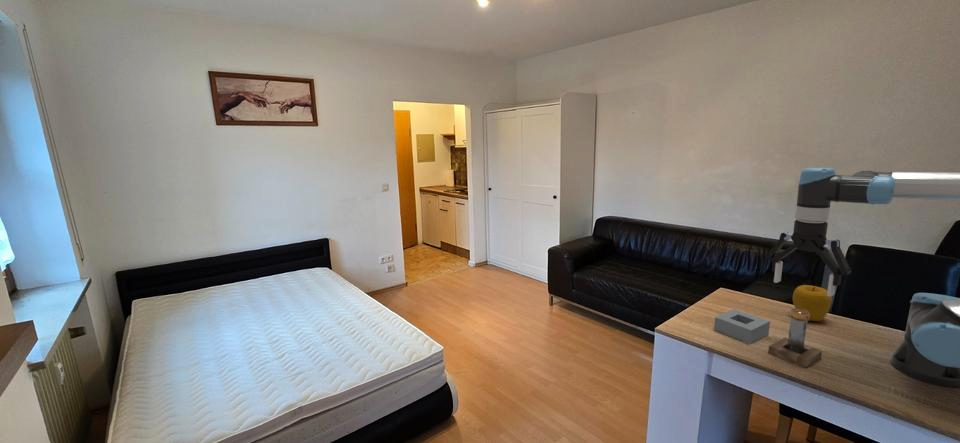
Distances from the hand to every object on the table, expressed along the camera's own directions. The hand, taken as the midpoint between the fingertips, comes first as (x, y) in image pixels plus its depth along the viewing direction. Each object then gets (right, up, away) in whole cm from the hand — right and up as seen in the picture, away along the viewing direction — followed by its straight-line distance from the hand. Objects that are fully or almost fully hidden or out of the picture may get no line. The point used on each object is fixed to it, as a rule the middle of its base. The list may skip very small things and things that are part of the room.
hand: (802, 288), depth 118 cm
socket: (-5, -19, +20) cm, 28 cm away
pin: (+1, -22, +4) cm, 23 cm away
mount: (+1, -22, +4) cm, 23 cm away
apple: (+26, -16, +27) cm, 41 cm away
